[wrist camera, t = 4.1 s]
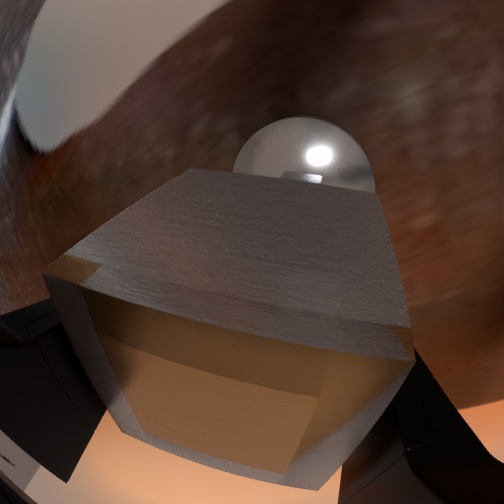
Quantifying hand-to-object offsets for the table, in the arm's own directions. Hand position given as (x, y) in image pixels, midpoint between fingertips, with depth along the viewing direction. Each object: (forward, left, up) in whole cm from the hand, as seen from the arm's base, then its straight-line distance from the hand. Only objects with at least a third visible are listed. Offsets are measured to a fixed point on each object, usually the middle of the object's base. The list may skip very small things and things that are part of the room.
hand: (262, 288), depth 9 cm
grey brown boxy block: (0, 0, -2) cm, 2 cm away
